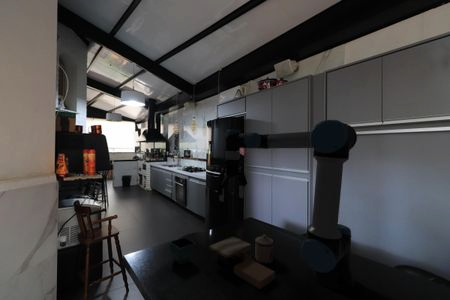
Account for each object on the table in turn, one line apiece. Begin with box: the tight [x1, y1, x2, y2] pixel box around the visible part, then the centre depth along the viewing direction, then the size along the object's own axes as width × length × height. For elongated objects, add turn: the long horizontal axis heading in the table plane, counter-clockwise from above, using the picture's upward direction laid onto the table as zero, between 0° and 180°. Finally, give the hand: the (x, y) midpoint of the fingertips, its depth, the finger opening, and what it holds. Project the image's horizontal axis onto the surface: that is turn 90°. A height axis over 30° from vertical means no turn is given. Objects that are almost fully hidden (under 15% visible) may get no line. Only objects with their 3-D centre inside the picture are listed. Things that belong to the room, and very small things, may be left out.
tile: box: [233, 258, 276, 290], centre depth 89 cm, size 14×10×4 cm
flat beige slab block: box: [208, 236, 252, 263], centre depth 99 cm, size 12×16×8 cm
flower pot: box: [169, 236, 196, 266], centre depth 99 cm, size 9×9×9 cm
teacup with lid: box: [254, 234, 275, 264], centre depth 104 cm, size 12×9×12 cm
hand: (231, 199), depth 111 cm, fingers open, 13 cm apart
